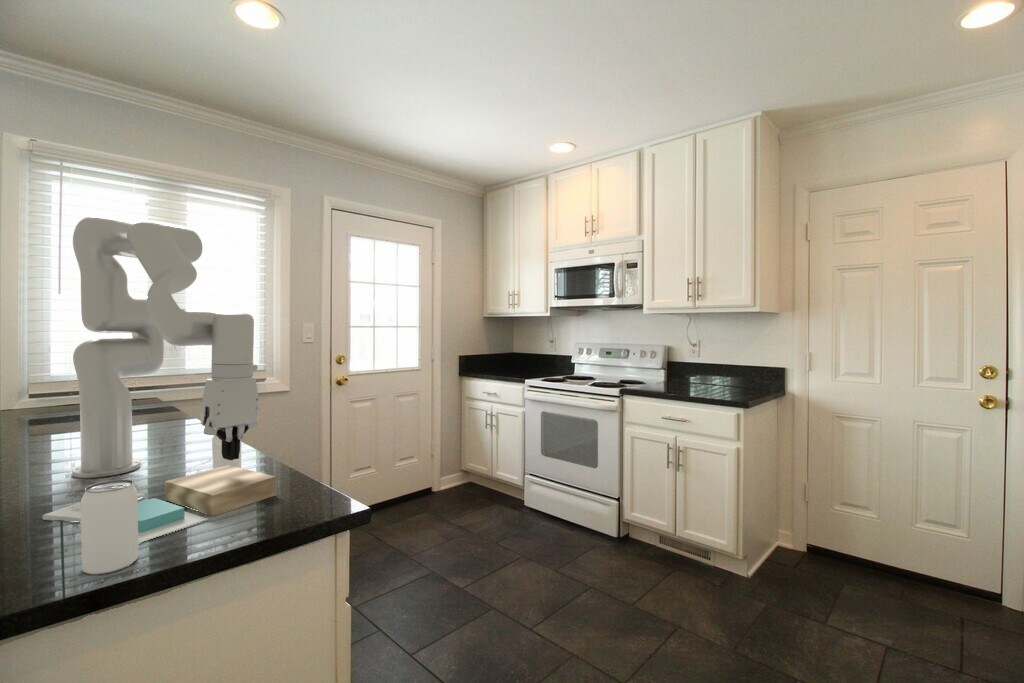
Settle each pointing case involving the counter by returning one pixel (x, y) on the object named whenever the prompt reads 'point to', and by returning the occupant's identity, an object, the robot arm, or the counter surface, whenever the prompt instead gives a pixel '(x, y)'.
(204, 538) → the counter surface
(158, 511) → the teal sticky note pad
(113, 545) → the can
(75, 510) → the external hard drive
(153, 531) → the mat
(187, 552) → the counter surface
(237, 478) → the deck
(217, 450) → the white tall lump
